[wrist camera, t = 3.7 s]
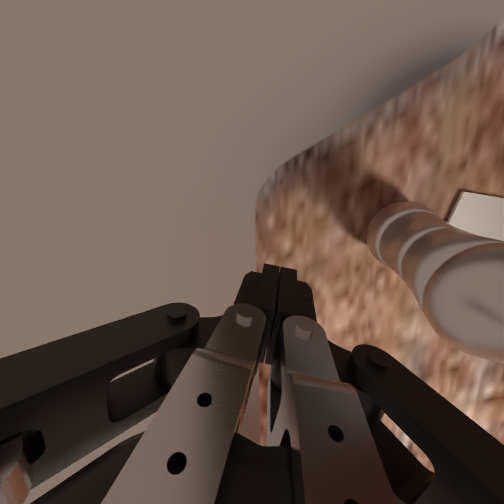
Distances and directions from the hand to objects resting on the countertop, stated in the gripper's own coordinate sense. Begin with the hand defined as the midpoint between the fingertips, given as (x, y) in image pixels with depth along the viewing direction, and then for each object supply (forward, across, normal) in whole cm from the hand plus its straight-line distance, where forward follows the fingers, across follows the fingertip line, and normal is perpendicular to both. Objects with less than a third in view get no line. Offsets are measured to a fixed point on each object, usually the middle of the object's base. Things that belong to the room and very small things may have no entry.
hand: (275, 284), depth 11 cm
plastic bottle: (+18, -12, 0) cm, 22 cm away
